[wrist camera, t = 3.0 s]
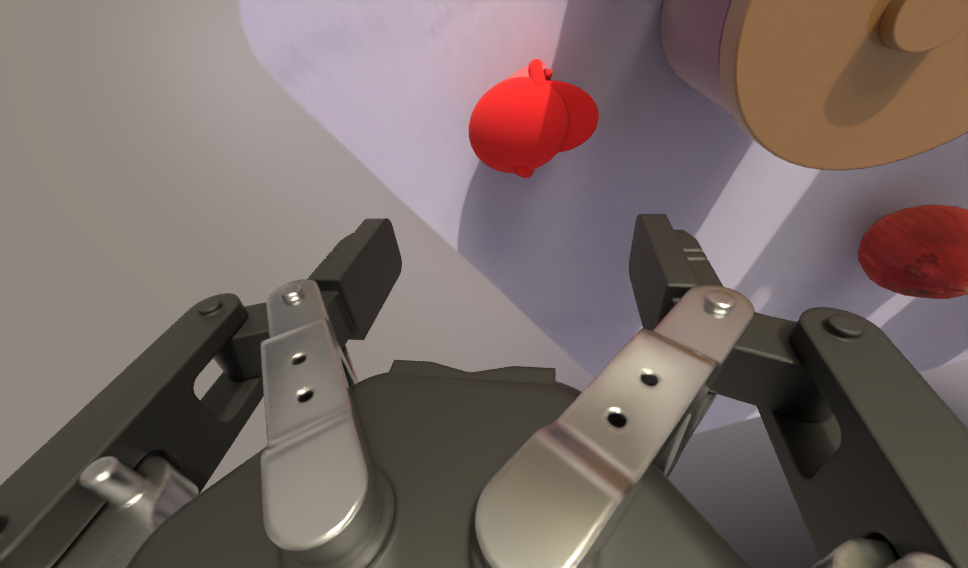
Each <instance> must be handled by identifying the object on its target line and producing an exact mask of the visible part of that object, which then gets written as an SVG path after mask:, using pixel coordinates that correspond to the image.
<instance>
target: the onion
mask: <svg viewBox="0 0 968 568" xmlns="http://www.w3.org/2000/svg"><path fill="white" fill-rule="evenodd" d="M858 261H859V262H860V264H861V266H862V268H863V270H864V272H865V273H866V274H867V276H868V277H869V278H870V280H872V281H873V282H875V283H876V284H878V285H879V286H881V287H883V288H886V289H888V290H891V291H893V292H896V293H899V294H902V295H905V296H914V297H922V298H935V299H949V298H954V297H958V296H962V295H966V294H968V210H966V209H963V208H959V207H955V206H944V205H924V206H917V207H912V208H906V209H902V210H899V211H897V212H894V213H892V214H889V215H886V216H884V217H883V218H881V219H880V220H878V221H877V222H875V223H874V224H873V225H872V226H871V227H870V229H869V230H868V231H867V232H866V233H865V235H864V236H863V238H862V240H861V243H860V246H859V250H858Z"/></svg>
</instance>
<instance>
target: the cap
mask: <svg viewBox="0 0 968 568" xmlns="http://www.w3.org/2000/svg"><path fill="white" fill-rule="evenodd" d="M545 67H546V64H545V63H542V61H540V60H539V59H535V60H532V61H531V62H530V64H529V66H528V67H526V68H523V69H522V70H520V71H518V72H516V73H515V74H513V75H511V76H510V77H508V78H507V79H505V80H504V81H503V82H501V83H499V84H497V85H495V86H494V87H492V88H491V89H490V90H489V91H487V92H486V93H485V94H484V95H483V96H482V98H481V99H480V100H479V101H478V103H477V105H476V106H475V108H474V110H473V112H472V115H471V118H470V121H469V124H468V126H469V138H470V143H471V146H472V148H473V150H474V152H475V154H476V155H477V156H478V158H479V159H480V160H481V161H482V162H483V163H485V164H486V165H487V166H489V167H491V168H493V169H495V170H498V171H501V172H506V173H516V174H517V175H519V176H520V177H523V178H529V177H531V176H532V175H533V172H534V169H536V168H538V167H540V166H542V165H544V164H545V163H547V162H548V161H550V160H551V159H552V158H553V157H554V156H555V155H556V154H557V153H559V152H564V151H567V150H570V149H573V148H575V147H577V146H579V145H581V144H582V143H584V142H585V141H586V140H588V139H589V138H590V136H591V135H592V134H593V133H594V131H595V129H596V127H597V125H598V120H599V113H598V108H597V106H596V104H595V102H594V100H593V99H592V98H591V97H590V96H589V95H588V94H587V93H586V92H585V91H583V90H582V89H580V88H578V87H576V86H574V85H572V84H569V83H565V82H560V81H551V80H550V78H551V77H552V71H551V70H550V69H546V68H545Z"/></svg>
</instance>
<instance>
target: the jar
mask: <svg viewBox="0 0 968 568" xmlns="http://www.w3.org/2000/svg"><path fill="white" fill-rule="evenodd" d="M660 36H661V43H662V48H663V51H664V54H665V57H666V59H667V61H668V63H669V65H670V67H671V68H672V70H673V71H674V72H675V73H676V74H677V75H678V76H679V77H680V78H681V79H682V80H683V81H685V82H686V83H687V84H689V85H690V86H692V87H693V88H695V89H696V90H698V91H699V92H700V93H702V94H703V95H705V96H706V97H708V98H709V99H711V100H712V101H714V102H715V103H717V104H718V105H719V106H721V107H722V108H724V109H725V110H727V111H728V112H730V114H731V116H732V117H733V119H734V120H735V122H736V123H737V125H738V126H739V127H740V128H741V129H742V130H743V131H744V132H745V133H746V135H747V136H748V137H750V138H751V139H752V140H754V141H755V142H756V143H758V144H759V145H761V146H762V147H763V148H765V149H766V150H767V151H769V152H770V153H772V154H773V155H774V156H776V157H778V158H780V159H782V160H785V161H787V162H789V163H792V164H795V165H799V166H802V167H806V168H813V169H819V170H852V169H863V168H868V167H874V166H879V165H885V164H888V163H892V162H895V161H899V160H903V159H906V158H909V157H912V156H915V155H917V154H920V153H923V152H926V151H928V150H931V149H933V148H936V147H938V146H940V145H942V144H944V143H947V142H949V141H951V140H953V139H956V138H958V137H959V136H961V135H963V134H965V133H967V132H968V0H664V1H663V5H662V10H661V20H660Z"/></svg>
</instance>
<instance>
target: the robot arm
mask: <svg viewBox="0 0 968 568" xmlns="http://www.w3.org/2000/svg"><path fill="white" fill-rule="evenodd" d="M401 268H402V260H401V255H400V251H399V248H398V244H397V241H396V237H395V233H394V230H393V226H392V223H391V222H390V220H389V219H387V218H385V219H365V220H364V221H363V222H362V224H361V225H360V226H359V227H358V228H357V230H356V231H355V232H354V233H352V234H350V235H349V236H347V237H346V238H344V239H343V240H341V241H340V242H339V243H338V244H337V245H336V246H335V248H334V249H333V251H332V252H330V253H329V254H328V256H327V257H326V259H324V260H323V261H322V263H321V264H320V265H319V266H318V267H317V268H316V269H315V271H314V272H313V273H312V274H311V275H310V276H309V278H308V279H307V280H297V281H293V282H289V283H287V284H285V285H283V286H281V287H279V288H277V289H276V290H275V291H273V292H272V293H271V294H270V295H269V297H268V299H267V301H266V303H261V304H256V305H251V306H246V307H244V306H243V305H242V303H241V301H240V299H239V298H238V297H237V296H236V295H234V294H229V293H228V294H219V295H215V296H212V297H209V298H207V299H205V300H203V301H201V302H199V303H197V304H196V305H194V306H193V307H192V308H190V309H189V310H188V311H187V312H186V313H185V314H184V315H183V316H182V317H181V318H180V319H179V320H178V321H176V322H175V323H174V324H173V325H172V326H171V327H170V328H169V329H168V330H167V331H166V332H165V333H164V334H162V335H161V336H160V337H159V338H158V339H157V340H156V341H155V342H154V343H153V344H152V345H151V346H150V347H148V348H147V349H146V350H145V351H144V352H143V353H142V354H141V355H140V356H139V357H138V358H137V359H136V360H135V361H133V362H132V363H131V364H130V365H129V366H128V367H127V368H126V369H125V370H124V371H123V372H122V373H121V374H120V375H118V376H117V377H116V378H115V379H114V380H113V381H112V382H111V383H110V384H109V385H108V386H107V387H106V388H105V389H103V390H102V391H101V392H100V393H99V394H98V395H97V396H96V397H95V398H94V399H93V400H92V401H91V402H90V403H89V404H88V405H86V406H85V407H84V408H83V409H82V410H81V411H80V412H79V413H78V414H77V415H76V416H75V417H73V418H72V419H71V420H70V421H69V422H68V423H67V424H66V425H65V426H64V427H63V428H62V429H61V430H60V431H58V432H57V433H56V434H55V435H54V436H53V437H52V438H51V439H50V440H49V441H48V442H47V443H46V444H45V445H43V446H42V447H41V448H40V449H39V450H38V451H37V452H36V453H35V454H34V455H33V456H32V457H31V458H30V459H28V460H27V461H26V462H25V463H24V464H23V465H22V466H21V467H20V468H19V469H18V470H17V471H16V472H15V473H14V474H13V475H12V476H10V477H9V478H8V479H7V480H6V481H5V482H4V483H3V484H2V485H1V486H0V568H750V567H749V565H748V564H747V563H746V562H745V561H744V560H743V559H742V558H741V557H740V556H739V555H738V554H737V553H736V552H735V550H734V549H733V548H732V547H731V546H730V545H729V544H728V543H727V542H726V541H725V540H724V538H722V536H721V535H720V534H719V533H718V532H717V531H716V530H715V529H714V528H713V527H712V526H711V525H710V523H709V522H708V521H707V520H706V519H705V518H704V517H703V516H702V515H701V514H700V513H699V512H698V510H697V509H696V508H695V507H694V506H693V505H692V504H691V503H690V502H689V501H688V500H687V499H686V497H685V496H684V495H683V494H682V493H681V492H680V491H679V490H678V489H677V488H676V487H675V486H674V484H673V483H672V482H671V481H670V480H669V479H668V477H669V475H670V473H671V472H672V470H673V468H674V466H675V464H676V463H677V461H678V459H679V457H680V455H681V453H682V451H683V449H684V448H685V446H686V444H687V442H688V441H689V439H690V437H691V436H692V434H693V433H694V431H695V429H696V428H697V426H698V425H699V423H700V421H701V420H702V418H703V417H704V415H705V413H706V412H707V410H708V409H709V407H710V405H711V404H712V402H713V401H714V399H715V397H716V396H717V394H720V395H723V396H726V397H730V398H733V399H736V400H739V401H743V402H746V403H749V404H752V405H756V406H757V408H758V410H759V413H760V415H761V418H762V420H763V423H764V425H765V427H766V430H767V432H768V435H769V437H770V440H771V442H772V444H773V447H774V449H775V452H776V454H777V457H778V459H779V461H780V464H781V466H782V469H783V471H784V474H785V476H786V478H787V481H788V484H789V486H790V488H791V491H792V493H793V496H794V498H795V501H796V503H797V505H798V508H799V510H800V513H801V515H802V517H803V520H804V522H805V525H806V527H807V530H808V532H809V535H810V537H811V540H812V542H813V544H814V547H815V549H816V552H817V554H818V557H819V559H820V561H819V562H818V563H817V564H815V565H814V566H813V567H812V568H968V429H967V428H966V427H965V426H964V425H963V423H962V422H961V421H960V420H959V419H958V418H957V417H956V415H955V414H954V413H953V412H952V411H951V410H950V408H949V407H947V405H946V404H945V403H944V402H943V400H942V399H941V398H940V397H939V396H938V395H937V393H936V392H935V391H934V390H933V389H932V388H931V387H930V385H929V384H928V383H927V382H926V381H925V380H924V378H923V377H922V376H921V375H920V374H919V373H918V371H917V370H916V369H915V368H914V367H913V366H912V365H911V363H910V362H909V361H908V360H907V359H906V358H905V356H904V355H903V354H902V353H901V352H900V351H899V350H898V348H897V347H896V346H895V345H894V344H893V343H892V341H891V340H890V339H889V338H888V337H887V336H886V335H885V333H884V332H883V331H882V330H881V329H880V328H878V327H877V326H876V325H875V324H873V323H872V322H870V321H868V320H866V319H864V318H863V317H860V316H858V315H856V314H853V313H850V312H847V311H844V310H840V309H834V308H826V307H819V308H812V309H808V310H806V311H805V312H803V313H802V315H801V316H800V318H799V320H798V322H794V321H789V320H785V319H780V318H775V317H771V316H766V315H762V314H759V313H756V312H754V307H753V305H752V303H751V302H750V301H749V300H748V299H747V298H746V297H745V296H743V295H742V294H740V293H738V292H736V291H734V290H732V289H729V288H726V287H723V285H722V283H721V282H720V280H719V278H718V276H717V275H716V273H715V271H714V269H713V268H712V266H711V264H710V262H709V261H708V260H707V257H706V255H705V254H704V252H702V248H701V247H700V245H699V243H698V241H697V240H696V239H695V238H694V237H693V236H691V235H690V234H688V233H687V232H685V231H684V230H673V228H672V226H671V224H670V222H669V220H668V218H667V216H666V215H665V214H639V215H638V216H637V219H636V223H635V229H634V235H633V241H632V247H631V253H630V260H629V275H630V280H631V283H632V287H633V291H634V295H635V299H636V302H637V306H638V310H639V314H640V318H641V321H642V325H643V328H642V329H641V330H639V331H638V332H637V333H636V335H635V336H634V337H633V338H632V339H631V340H630V341H629V342H628V343H627V344H626V345H625V346H624V348H623V349H622V350H621V351H620V352H619V353H618V354H617V355H616V356H615V357H614V358H613V359H612V361H611V362H610V363H609V364H608V365H607V366H606V367H605V368H604V369H603V370H602V371H601V372H600V373H599V375H598V376H597V377H596V378H595V379H594V380H593V381H592V382H591V384H589V385H588V386H587V388H586V389H585V390H584V391H583V392H581V391H579V390H577V389H575V388H573V387H571V386H568V385H565V384H563V383H559V382H556V381H555V368H537V367H520V366H512V367H505V368H499V369H492V370H485V371H479V372H465V371H462V370H458V369H455V368H451V367H448V366H444V365H441V364H437V363H434V362H426V361H406V360H394V362H393V364H392V367H391V369H390V371H389V372H388V373H383V374H379V375H375V376H373V377H370V378H367V379H365V380H363V381H361V382H359V381H358V378H357V376H356V373H355V370H354V367H353V364H352V361H351V358H350V355H349V352H348V350H347V348H346V345H345V344H346V342H347V341H348V339H352V340H364V339H365V337H366V335H367V333H368V331H369V330H370V328H371V326H372V324H373V322H374V321H375V319H376V317H377V315H378V313H379V311H380V309H381V308H382V306H383V304H384V302H385V301H386V299H387V297H388V295H389V293H390V291H391V290H392V288H393V286H394V284H395V282H396V281H397V279H398V277H399V275H400V273H401ZM212 359H214V360H215V361H216V362H217V364H218V365H219V366H220V367H221V369H222V370H223V371H224V372H223V373H222V374H221V376H220V377H219V378H218V379H217V380H216V382H215V383H214V384H213V385H212V387H211V388H210V389H209V390H208V392H207V393H206V394H205V395H204V397H203V398H202V399H201V400H199V399H198V398H197V397H196V395H195V393H194V390H193V387H194V382H195V379H196V378H197V376H198V375H199V373H200V372H201V371H202V370H203V369H204V368H205V367H206V365H207V364H208V363H209V362H210V361H211V360H212ZM263 396H264V404H265V418H266V431H267V432H266V433H267V447H265V448H264V449H262V450H261V451H260V452H258V453H257V454H255V455H254V456H253V457H251V458H250V459H249V460H247V461H246V462H244V463H243V464H241V465H240V466H239V467H237V468H236V469H234V470H233V471H232V472H230V473H229V474H227V475H226V476H224V477H223V478H222V479H220V480H219V481H217V482H216V483H215V484H213V485H212V486H210V487H209V488H208V489H206V490H205V491H203V492H202V493H201V494H200V492H201V491H202V489H203V488H204V486H205V485H206V483H207V482H208V480H209V479H210V477H211V476H212V474H213V473H214V471H215V470H216V468H217V466H218V465H219V463H220V462H221V460H222V459H223V457H224V456H225V454H226V452H227V451H228V450H229V448H230V447H231V445H232V444H233V442H234V441H235V439H236V437H237V436H238V434H239V432H240V431H241V430H242V428H243V427H244V425H245V424H246V422H247V420H248V419H249V418H250V416H251V415H252V413H253V411H254V410H255V408H256V407H257V405H258V404H259V402H260V401H261V399H262V398H263Z"/></svg>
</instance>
